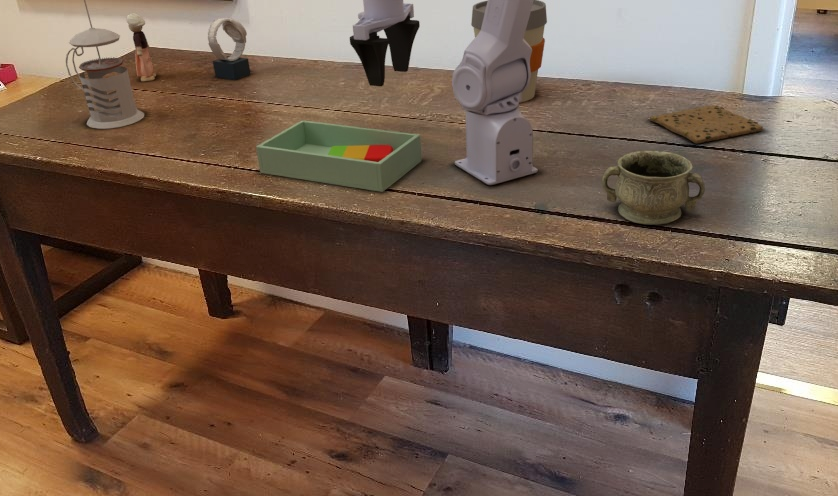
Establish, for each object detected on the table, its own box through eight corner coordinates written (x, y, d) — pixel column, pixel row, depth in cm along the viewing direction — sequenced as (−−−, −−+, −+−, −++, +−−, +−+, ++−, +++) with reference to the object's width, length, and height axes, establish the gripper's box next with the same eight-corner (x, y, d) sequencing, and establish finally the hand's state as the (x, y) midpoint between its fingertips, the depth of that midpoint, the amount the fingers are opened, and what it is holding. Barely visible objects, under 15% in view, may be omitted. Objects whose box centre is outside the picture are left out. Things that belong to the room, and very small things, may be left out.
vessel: (593, 221, 96) (597, 172, 93) (606, 192, 103) (609, 145, 100) (698, 232, 92) (705, 182, 89) (703, 201, 99) (710, 153, 96)
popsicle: (390, 170, 112) (389, 157, 111) (286, 172, 113) (284, 160, 112) (395, 155, 116) (394, 143, 115) (294, 158, 118) (292, 145, 117)
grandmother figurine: (138, 75, 164) (122, 11, 157) (157, 72, 165) (142, 8, 158) (138, 85, 158) (122, 18, 151) (158, 82, 158) (143, 16, 152)
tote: (421, 161, 116) (420, 134, 113) (382, 192, 107) (380, 164, 105) (305, 145, 124) (302, 120, 122) (260, 172, 115) (255, 146, 113)
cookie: (712, 107, 128) (713, 101, 127) (764, 130, 118) (765, 124, 118) (647, 119, 125) (648, 113, 124) (695, 144, 115) (696, 137, 114)
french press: (121, 130, 134) (79, -28, 121) (65, 126, 138) (19, -29, 125) (155, 111, 142) (120, -39, 129) (102, 107, 146) (62, -39, 133)
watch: (257, 71, 161) (248, 15, 156) (228, 82, 156) (218, 24, 150) (237, 68, 164) (228, 13, 158) (208, 79, 159) (197, 21, 153)
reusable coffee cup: (543, 106, 133) (546, 13, 125) (468, 106, 135) (466, 14, 127) (546, 84, 144) (548, -4, 136) (476, 84, 146) (475, -2, 138)
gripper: (382, -29, 119) (388, 63, 126) (330, -10, 108) (340, 89, 115) (424, -28, 116) (428, 66, 123) (375, -8, 105) (383, 94, 113)
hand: (389, 78), depth 119 cm, fingers open, 7 cm apart
